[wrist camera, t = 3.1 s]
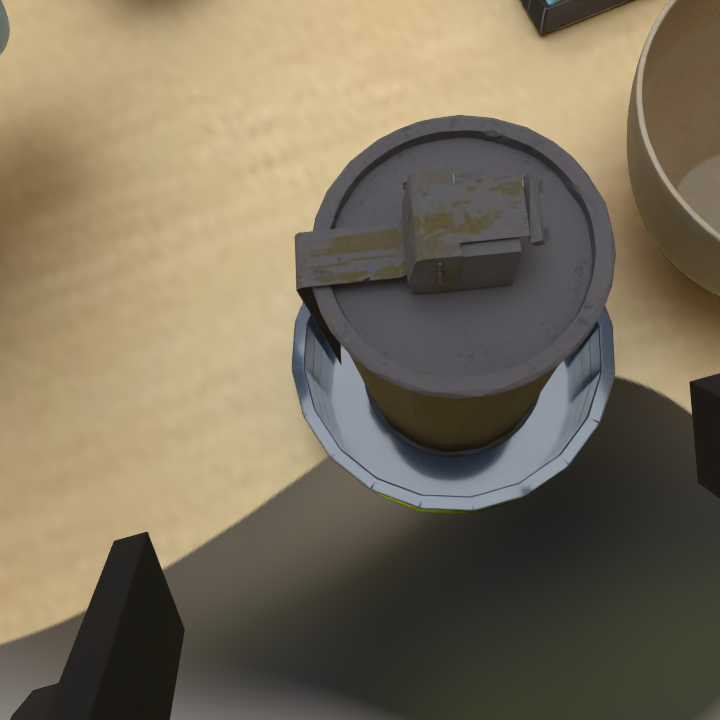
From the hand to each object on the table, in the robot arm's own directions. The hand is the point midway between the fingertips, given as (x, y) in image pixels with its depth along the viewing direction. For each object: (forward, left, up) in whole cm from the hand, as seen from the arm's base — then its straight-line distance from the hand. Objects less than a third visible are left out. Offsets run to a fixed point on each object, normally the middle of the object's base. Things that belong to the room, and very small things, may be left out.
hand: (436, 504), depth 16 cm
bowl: (+5, +7, -23) cm, 25 cm away
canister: (+5, +7, -23) cm, 25 cm away
